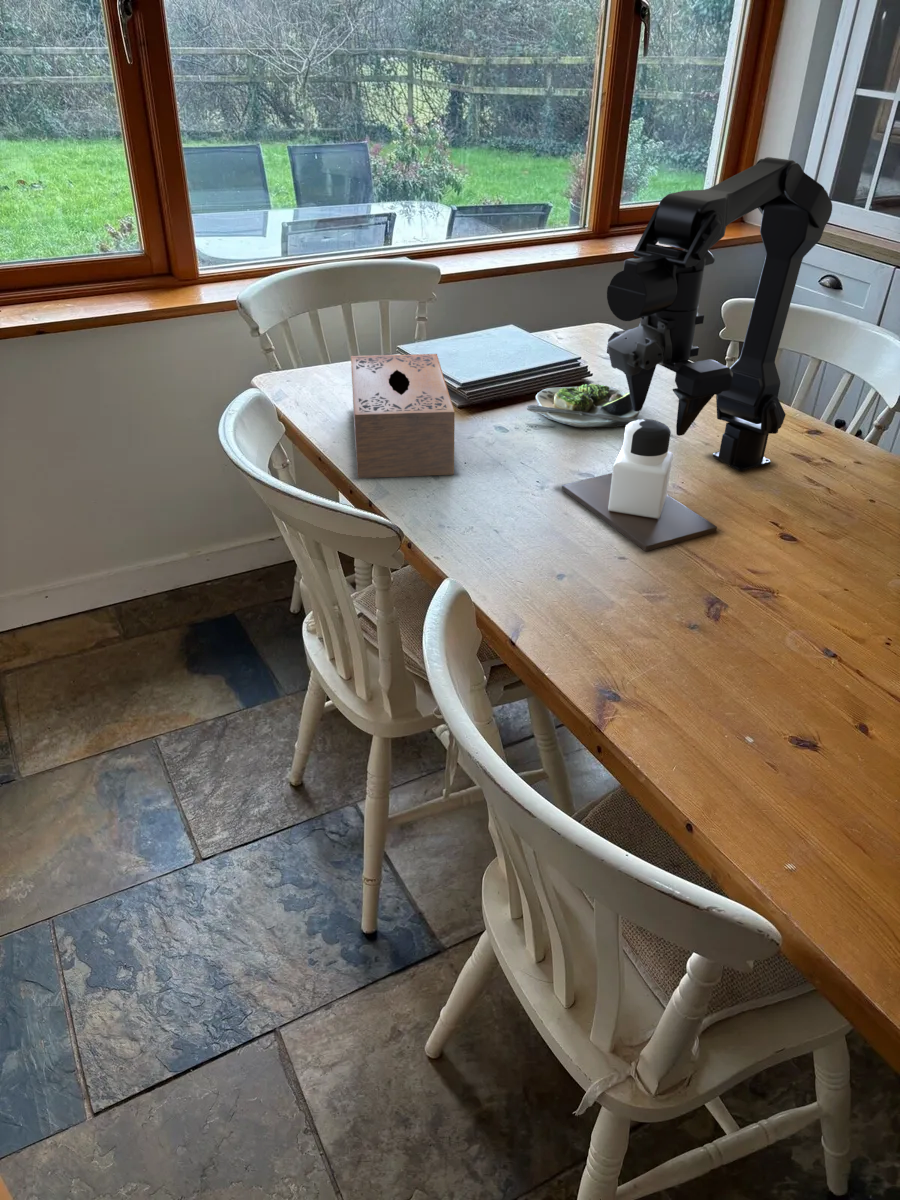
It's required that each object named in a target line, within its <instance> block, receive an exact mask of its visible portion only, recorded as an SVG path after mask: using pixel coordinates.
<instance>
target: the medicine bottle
mask: <svg viewBox="0 0 900 1200" xmlns="http://www.w3.org/2000/svg"><path fill="white" fill-rule="evenodd" d="M671 434H672V430H671V428H670V427H669V426H668V425H667V424H665V423H664V422H661V421H658V420H655V419H649V418H641V419H635V421H632V422H630V423H629V424H627V425H625V427H624V434H623V441H622V442H623V443H622V446H621V449H620V451H619V453H618V455H617V457H616V459H615V460H614V461H615V462H614V464H613V465H612V472H611V473H612V481H611V489H610V498H609V506H608V510H609V511H612V512H618V513H624V514H630V515H636V516H643V517H649V518H655V519H658V518H659V517H660V515H661V512H662V509H663V506H664V502H665V499H666V496H667V495H668V489H669V483H670V477H671V471H672V465H673V459H674V458H673V457H674V453H673V452H671V451H669V445H670V440H671Z"/></svg>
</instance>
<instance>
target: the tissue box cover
mask: <svg viewBox="0 0 900 1200" xmlns="http://www.w3.org/2000/svg"><path fill="white" fill-rule="evenodd" d="M350 366H351V367H350V369H351V388H352V389H351V390H352V391H351V392H352V407H353V409H352V411H353V425H354V426H353V427H354V440H355V442H354V443H355V456H356V472H357V473H356V474H357V479H371V478H373V479H375V478H397V477H398V478H400V477H421V476H422V477H424V476H426V477H428V476H449V475H452V476H453V475H454V472H455V470H454V469H455V463H454V462H455V421H456V420H455V418H456V417H455V415H456V413H455V411H456V410H455V408H454V405H453V401H452V399H451V395H450V392H449V389H448V385H447V382H446V379H445V376H444V373H443V369H442V367H441V363H440V359H439V356H438V353H418V354H417V353H415V354H414V353H413V354H371V355H350Z"/></svg>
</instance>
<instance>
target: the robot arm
mask: <svg viewBox="0 0 900 1200" xmlns="http://www.w3.org/2000/svg"><path fill="white" fill-rule="evenodd" d="M757 209H758V211H759V212H760V213H761V221H760V226H759V227H760V228H759V235H760V237H761V240H762V244H763V247H764V251H765V258H764V261H763V265H762V269H761V273H760V277H759V280H758V284H757V289H756V292H755V297H754V302H753V303H752V308H751V313H750V317H749V320H748V325H747V327H746V333H745V336H744V340H743V344H742V348H741V353H740V356H739V358H738V359H737V360H736V361H735V362H734V363H733V364H732V365H731V366H730V367H729V366H727V365H726V364H725V365H724V364H722V363H720V362H718V361H716V360H714V359H712V358H709V359H704V360H703V359H702V360H698V361H693V362H692V361H690V358H692V357H697V356H699V350H700V347H698V346H696V345H694V344H693V343H694V339H695V338H694V337H695V332H696V331H695V330H696V325H703V324H704V319H705V315H704V314H702V313H699V305H700V300H701V292H702V287H703V281H704V275H705V274H704V273H705V268H706V266H710V265H713V264H714V263H715V261H716V258H715V257H714V255H713V254H712V253H711V252H710V251H709V250H710V249H711V248H712V247H713V246H715V245H716V244H717V243H718V242H720V240H722V238H724V237H725V235H726V230H727V227H728V226H729V225H730V224H731V223H733V222H735V221H736V220H738V219H741V218H742V217H744V216H745V215H747V214H749V213H751V212H753V211H755V210H757ZM832 212H833V203H832V200H831V198H830V196H829V194H828V192H827V189H825V187H824V186H823V185H822V184H820V183H819V182H818V181H816V180H815V179H813V178H812V177H811V176H810V175H808V174H807V173H806V172H804V169H803V168H802V166H801V164H800V163H798V162H796V161H795V160H793V159H788V158H787V159H786V158H779V157H771V156H766V157H764V158H760V159H758V161H757V162H756V163H755V164H753V165H752V166H750V167H748V168H746V169H744V170H742V171H740V172H738V173H736V174H735V175H732V176H731V177H729V178H726V179H725V180H722V181H721V182H719V183H717V184H715V185H713V186H711V187H709V188H705V189H691V190H690V189H689V190H681V191H677V192H670V193H668V194H666V195H665V196H663V197H662V198H661V200H660V201H659V202H658V205H657V206H656V208H655V209H654V211H653V214H652V215H651V217H650V219H649V221H648V223H647V225H646V227H645V229H644V231H643V233H642V234H641V237H640V239H639V240H638V243H637V244H636V246H635V248H634V250H633V256H634V258H633V257H632V258H627V259H625V260H624V261H623V269H622V270H621V271H618V272H617V273H616V274H615V275H613V277H612V278H611V280H610V282H609V285H608V286H607V288H606V300H607V305H608V307H609V309H610V311H611V313H612V314H613V315H614V316H615V317H616V319H618V320H620V321H623V322H631V321H635V320H638V319H640V321H639V322H640V323H639V325H638V326H636V327H633V328H630V329H623V330H617V331H613V333H612V334H611V335H610V336H609V338H608V339H607V344H606V346H607V347H606V354H608V357H609V360H610V366H611V367H612V369H617V370H619V371H620V372H622V373H623V374H624V375H625V378H626V383H627V386H628V387H627V388H628V391H629V392H630V397H631V401H632V406H633V410H634V411H635V412H637V411H639V412H640V411H642V410H643V407H644V404H645V402H646V399H647V396H648V393H649V389H650V387H651V383H652V380H653V376H654V374H655V371H656V368H657V365H659V366H661V367H663V368H665V369H666V370H667V369H668V370H669V371H671V372H674V373H675V376H674V377H675V378H674V383H675V385H676V388H672V392H673V394H674V395H675V396H676V397H677V400H678V405H677V415H676V424H675V431H676V432H675V433H676V434H675V435H676V436H678V437H681V436H684V435H685V434H687V431H688V430H689V429H690V427H691V426H692V425H693V423H694V421H695V420H696V419H697V417H698V416H699V414H700V413H701V412H702V411H703V409H704V408H705V407H706V405H707V404H708V403H709V402H710V401H711V400H712V399H713V397H714V396H715V403H716V419H717V420H720V421H723V422H726V423H725V427H724V432H723V434H722V437H721V441H720V446H719V451H715V452H713V453H712V457H713V458H715V459H716V460H718V461H720V462H722V463H723V464H725V465H727V466H728V467H730V468H732V469H734V470H735V471H738V472H745V471H749V470H753V469H757V468H760V467H761V468H762V467H765V466H768V465H771V462H772V461H771V460H770V459H769V458H766V457H765V453H766V449H767V443H768V440H769V435H771V434H773V435H776V434H778V433H779V429H781V428H782V426H783V424H784V420H785V418H786V416H787V415H786V412H785V409H784V408H783V406H782V404H781V401H780V400H779V394H780V393H779V392H780V389H781V388H780V387H781V379H780V376H779V373H778V369H777V365H776V358H777V354H778V352H779V351H778V350H779V347H780V343H781V340H782V337H783V332H784V329H785V326H786V325H785V324H786V321H787V319H788V314H789V310H790V306H791V302H792V299H793V295H794V292H795V288H796V284H797V280H798V277H799V274H800V269H801V266H802V262H803V260H804V257H805V256H806V255H808V253H809V252H810V251H811V250H812V249H814V247H815V246H816V245H817V244H818V243H819V242H820V240H821V239H822V236H823V234H824V231H825V229H826V226H827V224H828V222H829V221H830V218H831V217H832ZM657 243H658V244H657ZM635 257H638V258H635Z"/></svg>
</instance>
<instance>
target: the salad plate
mask: <svg viewBox="0 0 900 1200" xmlns="http://www.w3.org/2000/svg"><path fill="white" fill-rule="evenodd" d="M535 401H536V404H537V405H535V404H529V405H527V407H526V410H527V411H529V412H532V413H535V414H539V415H542V416H544V417H545V418H546V419H548V420H550V421H553V422H556V423H558V424H562V425H566V426H570V427H575V428H614V427H615V428H616V427H624V426H626V425H627V424H629V423H630V422H632V421H635V420H636V418H638V416H639V414H640V411H637V412H635V411H634V410H633V406H632V401H631V397H630V392H624V391H623V390H622V389H620V388H617V387H614V386H610V385H609V386H608V385H605V384H599V383H596V384H595V383H589V385H588V384H587V383H585V384H582V385H579V386H562V387H561V386H560V387H559V386H558V387H547V388H545V389H542V390H540V391H539V392H537V394H536V395H535Z"/></svg>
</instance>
